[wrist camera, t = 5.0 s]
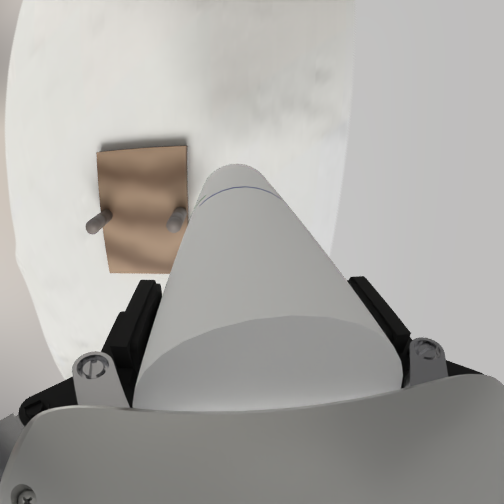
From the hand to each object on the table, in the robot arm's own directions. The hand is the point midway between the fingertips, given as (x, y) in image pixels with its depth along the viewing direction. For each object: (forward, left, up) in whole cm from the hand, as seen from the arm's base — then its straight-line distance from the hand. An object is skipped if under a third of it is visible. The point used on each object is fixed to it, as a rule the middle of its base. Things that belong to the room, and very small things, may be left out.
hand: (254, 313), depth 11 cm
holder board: (+5, -14, -35) cm, 38 cm away
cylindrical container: (0, 0, -20) cm, 20 cm away
